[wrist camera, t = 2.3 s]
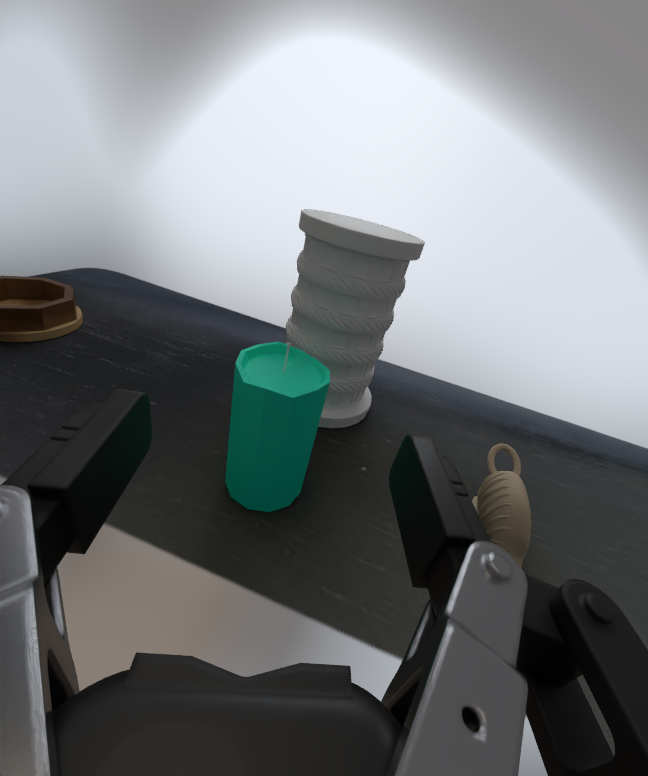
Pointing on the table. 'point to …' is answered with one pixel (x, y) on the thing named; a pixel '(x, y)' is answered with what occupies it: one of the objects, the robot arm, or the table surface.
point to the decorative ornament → (505, 506)
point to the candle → (273, 424)
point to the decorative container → (347, 303)
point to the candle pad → (36, 309)
